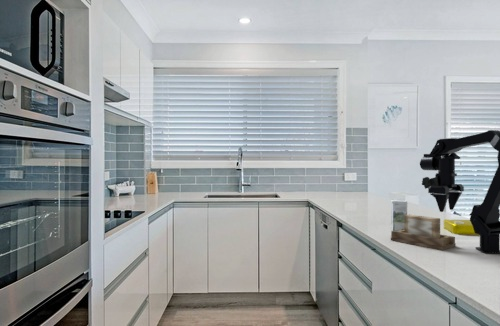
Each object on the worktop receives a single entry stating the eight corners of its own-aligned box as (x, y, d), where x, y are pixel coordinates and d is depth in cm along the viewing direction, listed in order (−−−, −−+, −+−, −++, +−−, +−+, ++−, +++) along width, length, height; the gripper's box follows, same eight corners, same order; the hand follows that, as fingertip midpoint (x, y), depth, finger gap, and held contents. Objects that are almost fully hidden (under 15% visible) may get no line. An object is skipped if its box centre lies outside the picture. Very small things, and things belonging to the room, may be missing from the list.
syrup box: (405, 232, 156) (405, 199, 155) (407, 235, 150) (407, 201, 150) (391, 231, 157) (391, 199, 157) (392, 234, 151) (392, 200, 151)
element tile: (493, 236, 149) (493, 225, 149) (454, 235, 152) (454, 223, 152) (477, 229, 164) (477, 219, 164) (442, 228, 167) (442, 218, 167)
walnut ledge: (455, 246, 131) (455, 236, 131) (442, 250, 125) (442, 240, 125) (404, 236, 147) (404, 228, 147) (390, 240, 141) (390, 231, 141)
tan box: (440, 242, 132) (440, 218, 132) (435, 244, 130) (435, 219, 130) (409, 237, 142) (409, 214, 142) (404, 238, 140) (404, 215, 140)
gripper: (435, 170, 151) (435, 206, 151) (414, 171, 139) (414, 210, 139) (464, 170, 143) (464, 209, 143) (444, 171, 131) (444, 214, 131)
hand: (446, 210), depth 139 cm, fingers open, 9 cm apart
